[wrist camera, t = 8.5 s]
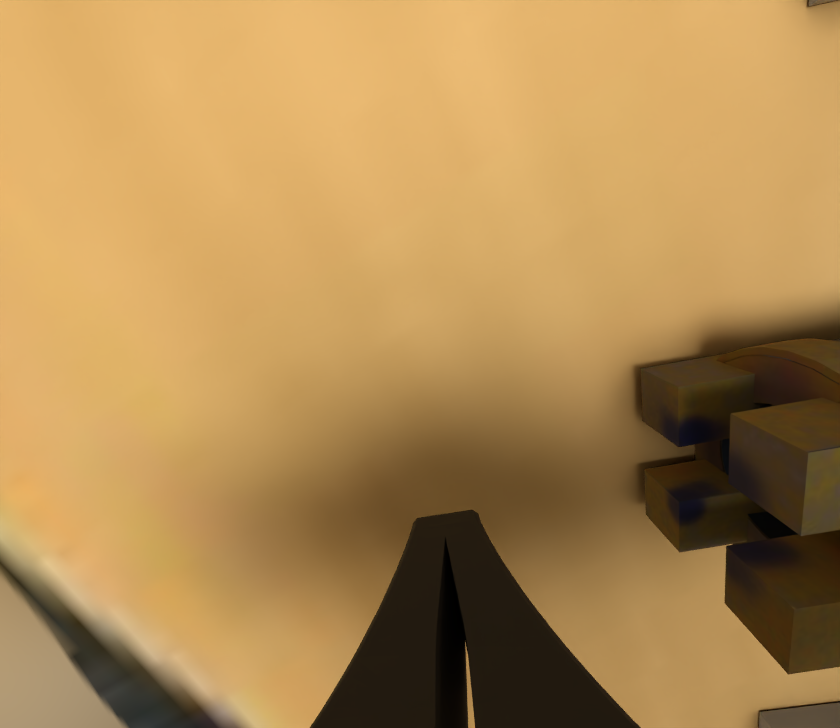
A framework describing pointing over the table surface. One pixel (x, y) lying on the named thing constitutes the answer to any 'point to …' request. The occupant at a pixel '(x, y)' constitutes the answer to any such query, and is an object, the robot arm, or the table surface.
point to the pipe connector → (758, 485)
